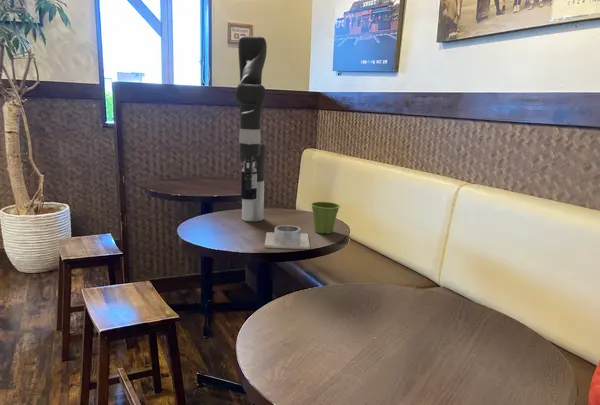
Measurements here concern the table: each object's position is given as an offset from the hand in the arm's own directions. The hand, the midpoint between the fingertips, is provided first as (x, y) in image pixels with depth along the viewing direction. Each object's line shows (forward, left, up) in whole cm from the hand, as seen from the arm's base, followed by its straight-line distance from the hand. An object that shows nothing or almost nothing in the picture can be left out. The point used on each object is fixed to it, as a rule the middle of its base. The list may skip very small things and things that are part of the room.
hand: (248, 187), depth 166 cm
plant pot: (-13, +30, -20) cm, 38 cm away
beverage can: (0, 0, -5) cm, 5 cm away
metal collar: (+2, +15, -19) cm, 24 cm away
